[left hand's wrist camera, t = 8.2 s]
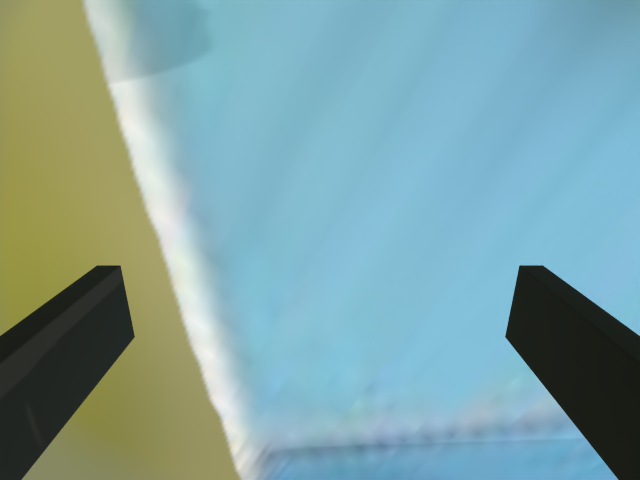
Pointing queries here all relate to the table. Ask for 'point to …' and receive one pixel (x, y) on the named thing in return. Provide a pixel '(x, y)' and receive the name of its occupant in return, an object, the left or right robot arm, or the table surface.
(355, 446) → the table surface
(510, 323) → the left robot arm
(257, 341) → the table surface
